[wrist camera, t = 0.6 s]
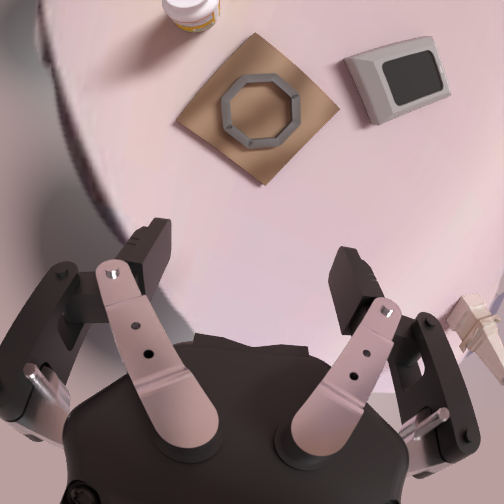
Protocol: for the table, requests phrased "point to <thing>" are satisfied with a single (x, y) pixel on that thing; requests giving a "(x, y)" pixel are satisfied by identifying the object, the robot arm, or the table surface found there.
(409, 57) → the grey flat boxy piece
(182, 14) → the supplement bottle
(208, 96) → the carrier plate
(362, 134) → the table surface
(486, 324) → the miniature monument
